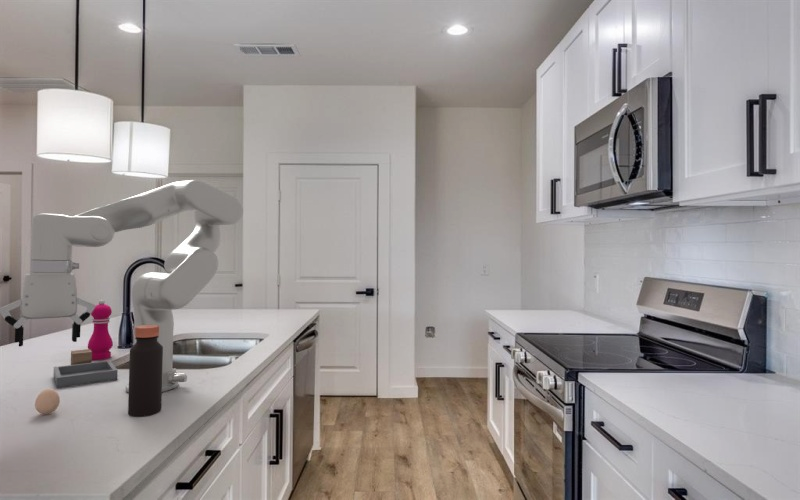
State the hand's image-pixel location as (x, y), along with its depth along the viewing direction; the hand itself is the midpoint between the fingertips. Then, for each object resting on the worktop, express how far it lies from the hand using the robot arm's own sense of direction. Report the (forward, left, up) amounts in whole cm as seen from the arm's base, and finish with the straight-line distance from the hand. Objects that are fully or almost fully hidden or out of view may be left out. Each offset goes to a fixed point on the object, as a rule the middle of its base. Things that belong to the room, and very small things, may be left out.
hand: (48, 343), depth 103 cm
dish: (+9, -29, -16) cm, 34 cm away
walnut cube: (+18, -42, -16) cm, 49 cm away
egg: (0, 0, -16) cm, 16 cm away
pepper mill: (+19, -54, -16) cm, 60 cm away
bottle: (-21, -1, -16) cm, 27 cm away
